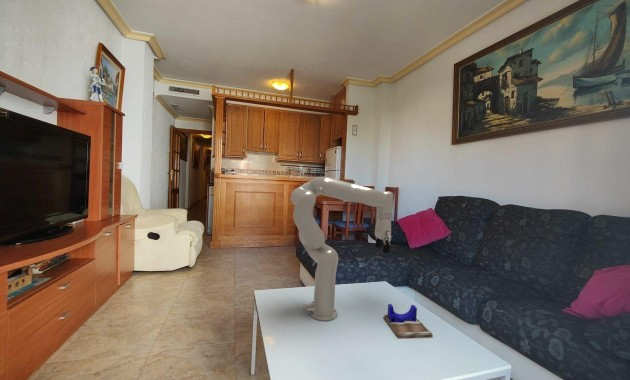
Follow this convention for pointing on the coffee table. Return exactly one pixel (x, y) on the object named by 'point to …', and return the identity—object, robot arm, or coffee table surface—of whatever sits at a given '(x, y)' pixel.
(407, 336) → the organizer board
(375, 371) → the coffee table surface
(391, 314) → the cable clip
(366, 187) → the robot arm
